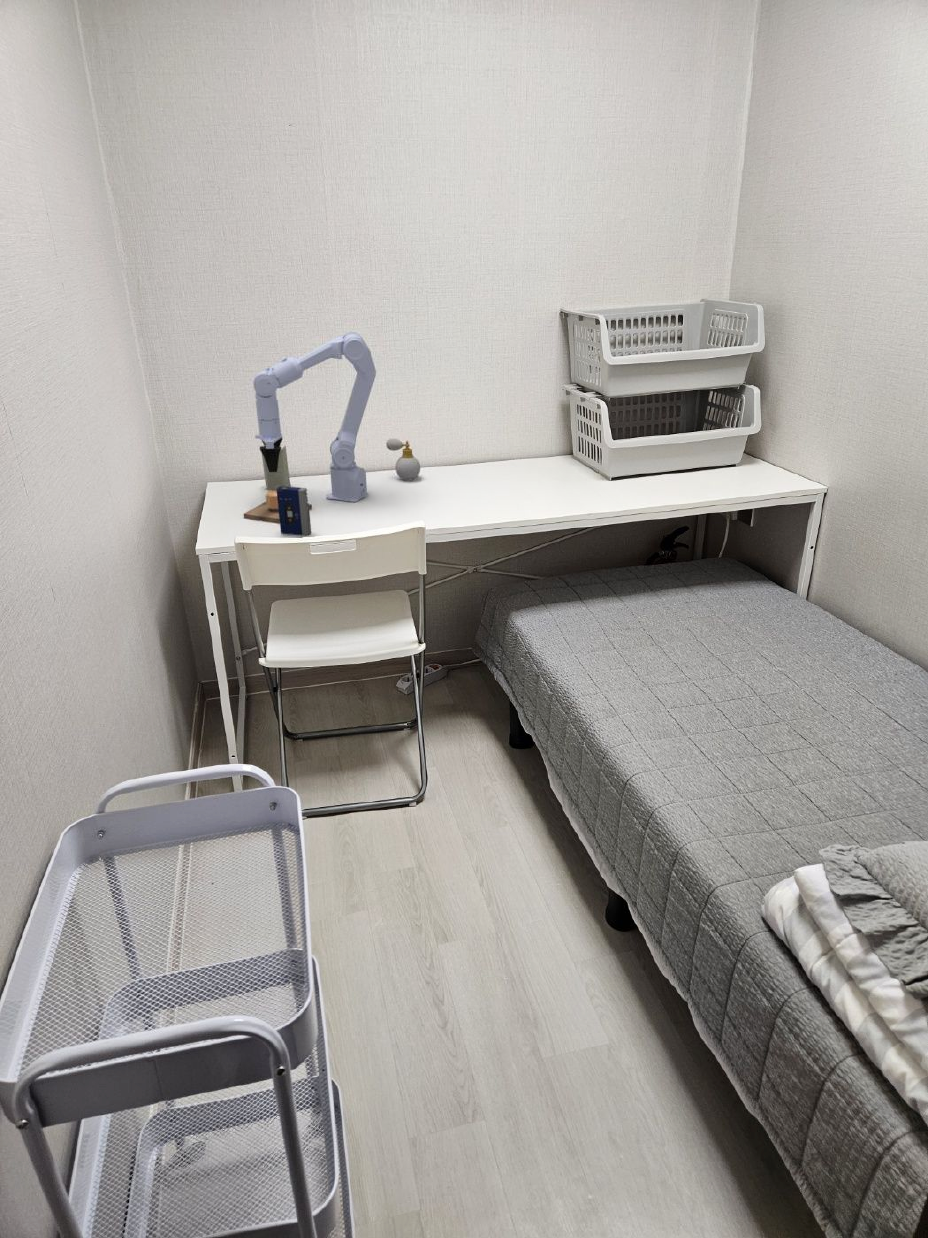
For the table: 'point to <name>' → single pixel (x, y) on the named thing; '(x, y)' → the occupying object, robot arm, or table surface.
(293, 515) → the cassette player
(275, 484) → the skincare box
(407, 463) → the perfume bottle
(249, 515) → the stud block
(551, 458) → the table surface
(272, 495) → the cap
